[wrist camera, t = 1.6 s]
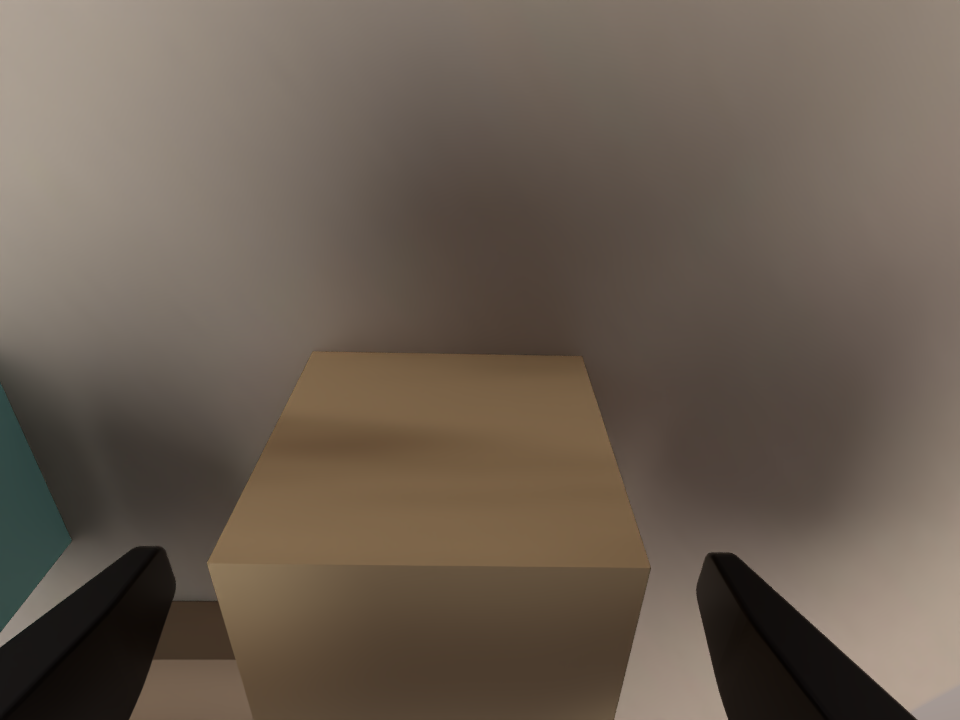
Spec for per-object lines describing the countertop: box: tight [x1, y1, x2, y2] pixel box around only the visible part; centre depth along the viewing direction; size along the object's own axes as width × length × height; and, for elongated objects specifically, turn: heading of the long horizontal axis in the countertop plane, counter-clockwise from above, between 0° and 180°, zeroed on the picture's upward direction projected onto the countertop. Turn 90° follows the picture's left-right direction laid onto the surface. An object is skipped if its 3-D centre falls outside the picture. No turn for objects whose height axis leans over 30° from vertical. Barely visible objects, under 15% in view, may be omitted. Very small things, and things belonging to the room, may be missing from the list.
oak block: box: [207, 351, 651, 720], centre depth 10 cm, size 5×5×5 cm
